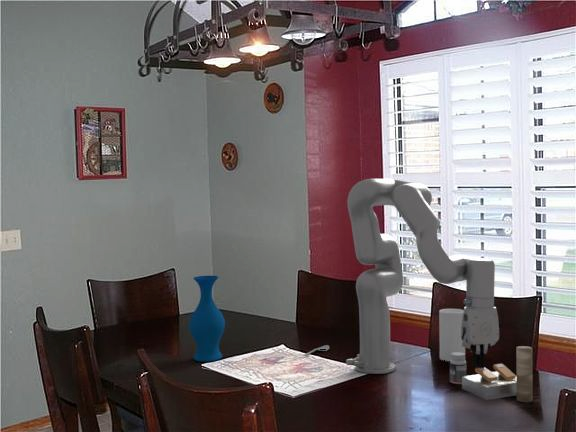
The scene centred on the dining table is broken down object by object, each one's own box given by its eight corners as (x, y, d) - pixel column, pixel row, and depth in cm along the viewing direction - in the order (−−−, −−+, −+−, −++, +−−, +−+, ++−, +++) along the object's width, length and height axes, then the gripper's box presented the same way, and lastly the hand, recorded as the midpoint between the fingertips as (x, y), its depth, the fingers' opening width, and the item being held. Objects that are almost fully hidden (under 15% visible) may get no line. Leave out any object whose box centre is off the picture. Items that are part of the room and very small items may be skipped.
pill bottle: (447, 379, 196) (447, 351, 196) (463, 379, 197) (462, 351, 196) (452, 384, 192) (452, 356, 191) (468, 383, 192) (468, 355, 192)
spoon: (332, 350, 237) (332, 345, 236) (296, 362, 221) (296, 357, 220) (323, 348, 239) (323, 344, 239) (287, 361, 223) (287, 356, 223)
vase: (232, 355, 230) (230, 275, 229) (213, 365, 218) (211, 280, 217) (202, 352, 235) (200, 274, 234) (182, 361, 223) (180, 279, 222)
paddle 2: (506, 379, 183) (507, 376, 182) (492, 367, 188) (493, 364, 187) (515, 378, 184) (515, 375, 183) (501, 366, 189) (502, 363, 188)
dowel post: (523, 403, 174) (523, 350, 174) (513, 398, 178) (513, 347, 177) (535, 401, 176) (535, 348, 175) (525, 396, 179) (525, 345, 179)
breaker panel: (487, 400, 177) (487, 383, 177) (462, 388, 187) (461, 373, 187) (528, 393, 182) (528, 377, 182) (502, 382, 193) (502, 367, 192)
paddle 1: (488, 381, 180) (489, 377, 180) (475, 371, 186) (475, 367, 185) (497, 380, 181) (498, 376, 181) (483, 370, 187) (484, 366, 187)
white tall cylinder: (465, 362, 215) (465, 313, 215) (440, 361, 217) (439, 312, 216) (464, 355, 223) (463, 308, 223) (439, 355, 225) (438, 308, 224)
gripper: (466, 306, 179) (465, 373, 180) (510, 302, 185) (508, 367, 186) (449, 301, 186) (448, 366, 187) (492, 298, 192) (491, 360, 193)
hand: (478, 366), depth 187 cm, fingers closed
